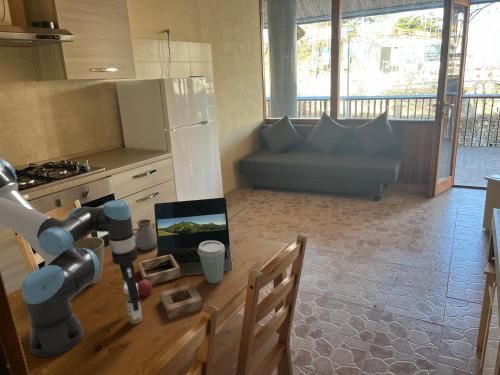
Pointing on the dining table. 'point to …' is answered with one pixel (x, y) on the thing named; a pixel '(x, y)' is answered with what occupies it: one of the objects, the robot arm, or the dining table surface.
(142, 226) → the coffee pot
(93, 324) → the dining table surface
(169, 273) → the open square frame
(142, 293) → the fruit
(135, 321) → the sprinkles bottle
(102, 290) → the dining table surface
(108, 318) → the dining table surface
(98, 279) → the plant pot
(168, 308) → the collar block
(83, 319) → the dining table surface
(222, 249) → the disposable coffee cup
